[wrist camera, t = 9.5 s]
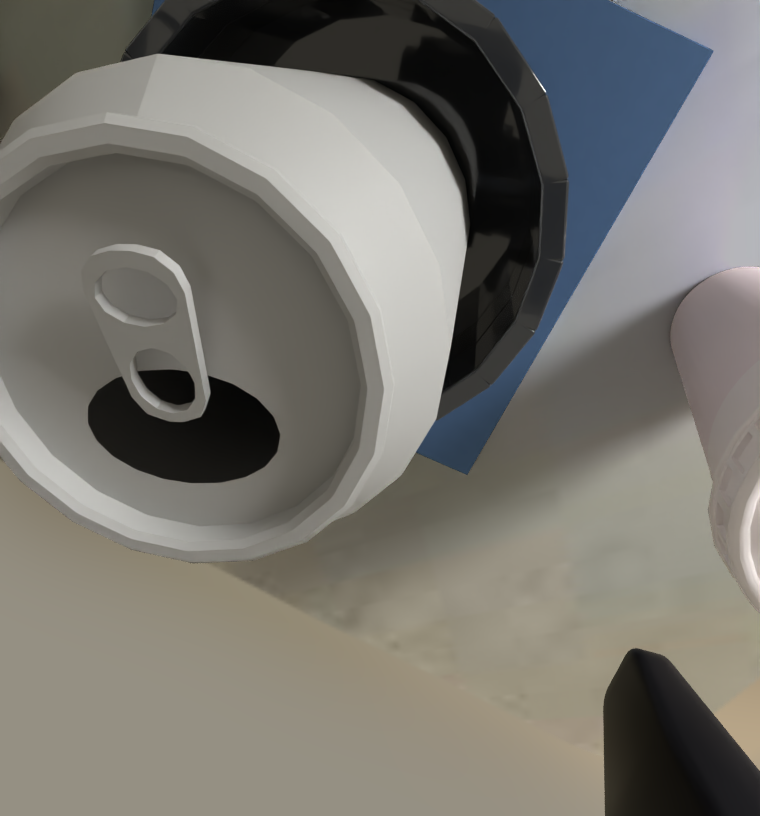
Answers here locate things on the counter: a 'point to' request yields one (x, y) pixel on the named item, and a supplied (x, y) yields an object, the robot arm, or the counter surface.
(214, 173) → the can
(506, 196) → the pan
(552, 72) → the napkin
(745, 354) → the smoothie
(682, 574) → the counter surface
